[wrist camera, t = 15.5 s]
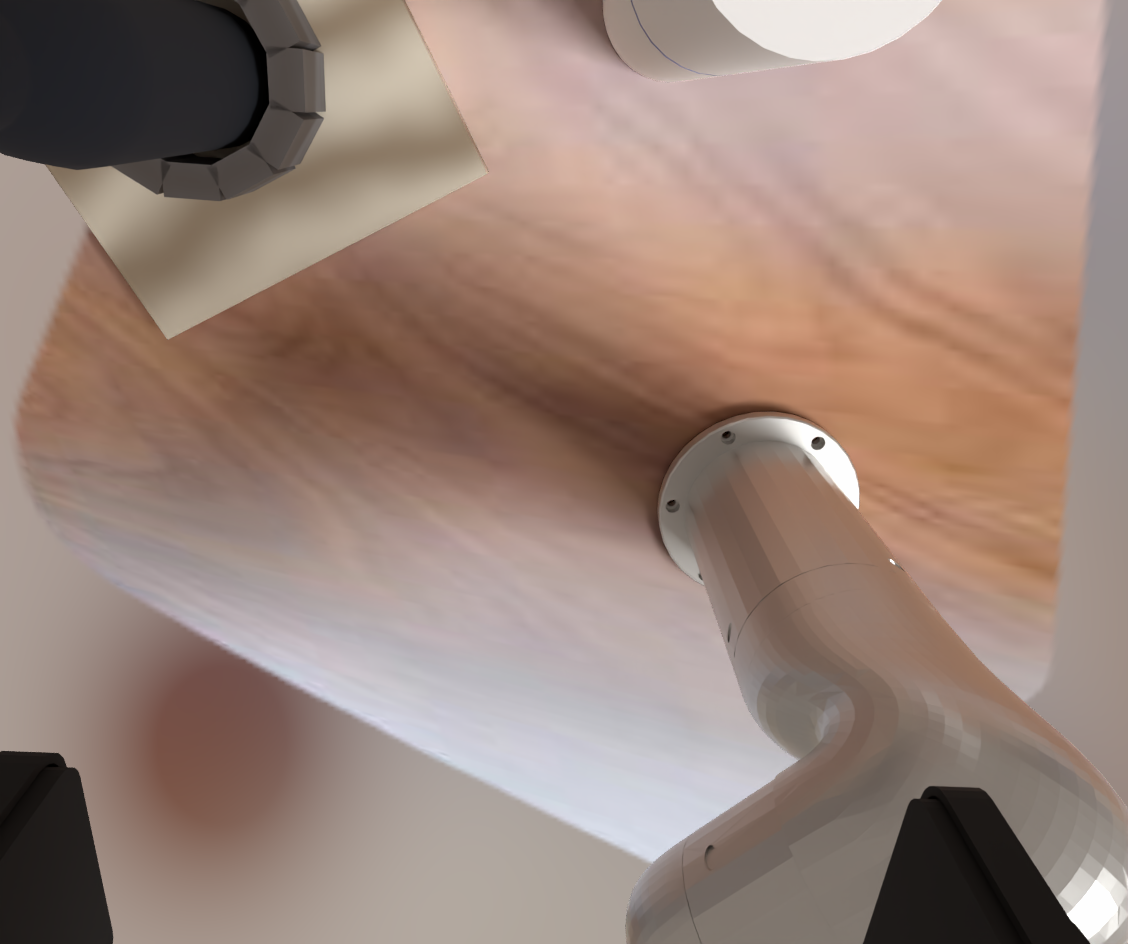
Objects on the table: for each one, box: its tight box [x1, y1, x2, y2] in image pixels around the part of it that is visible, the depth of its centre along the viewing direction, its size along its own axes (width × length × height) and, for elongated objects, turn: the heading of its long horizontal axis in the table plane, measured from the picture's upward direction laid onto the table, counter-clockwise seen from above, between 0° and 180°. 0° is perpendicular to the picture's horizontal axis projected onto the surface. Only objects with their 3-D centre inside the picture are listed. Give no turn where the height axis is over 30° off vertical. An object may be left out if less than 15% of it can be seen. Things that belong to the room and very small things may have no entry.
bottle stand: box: [45, 0, 489, 340], centre depth 40 cm, size 20×20×6 cm
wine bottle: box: [0, 0, 269, 170], centre depth 27 cm, size 6×6×30 cm
